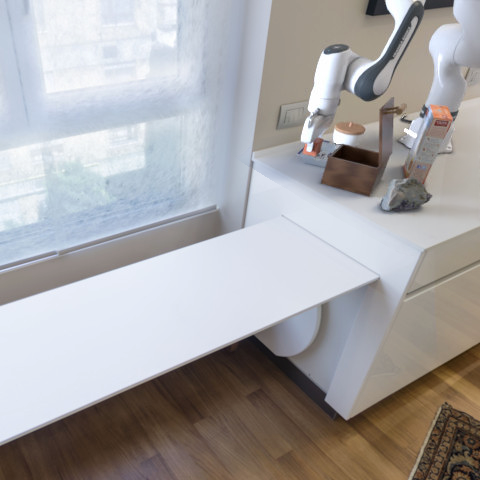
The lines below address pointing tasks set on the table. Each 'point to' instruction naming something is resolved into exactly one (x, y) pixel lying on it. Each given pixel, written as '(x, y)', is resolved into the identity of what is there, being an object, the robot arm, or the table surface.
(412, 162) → the cracker box
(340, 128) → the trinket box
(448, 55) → the robot arm
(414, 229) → the table surface
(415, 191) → the mineral rock
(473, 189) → the table surface
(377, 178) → the chest
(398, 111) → the lid
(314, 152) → the block
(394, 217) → the table surface
